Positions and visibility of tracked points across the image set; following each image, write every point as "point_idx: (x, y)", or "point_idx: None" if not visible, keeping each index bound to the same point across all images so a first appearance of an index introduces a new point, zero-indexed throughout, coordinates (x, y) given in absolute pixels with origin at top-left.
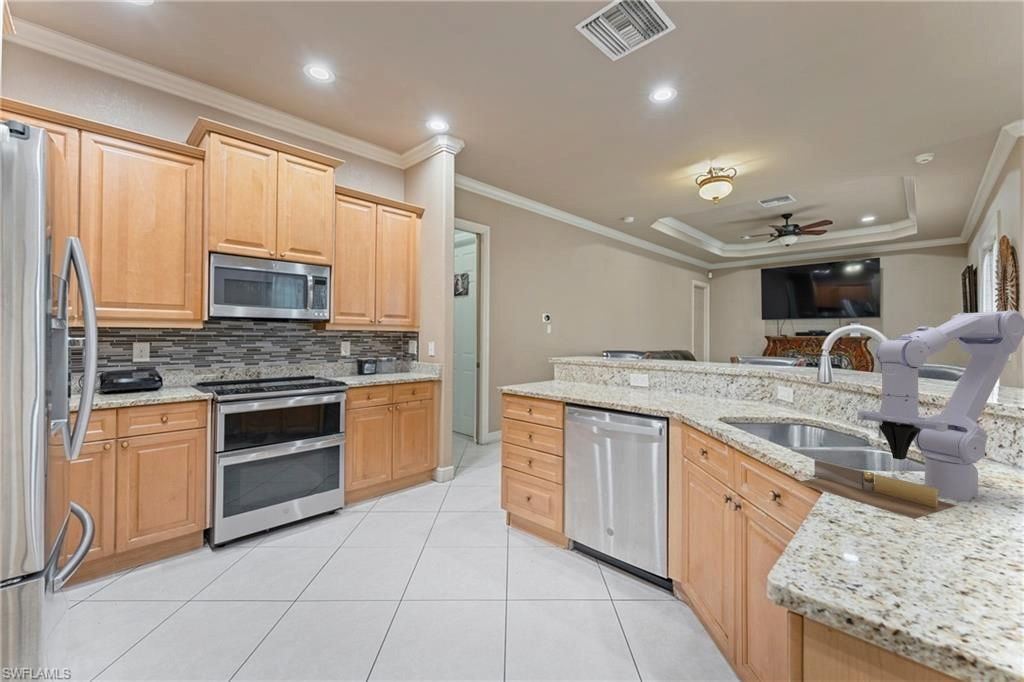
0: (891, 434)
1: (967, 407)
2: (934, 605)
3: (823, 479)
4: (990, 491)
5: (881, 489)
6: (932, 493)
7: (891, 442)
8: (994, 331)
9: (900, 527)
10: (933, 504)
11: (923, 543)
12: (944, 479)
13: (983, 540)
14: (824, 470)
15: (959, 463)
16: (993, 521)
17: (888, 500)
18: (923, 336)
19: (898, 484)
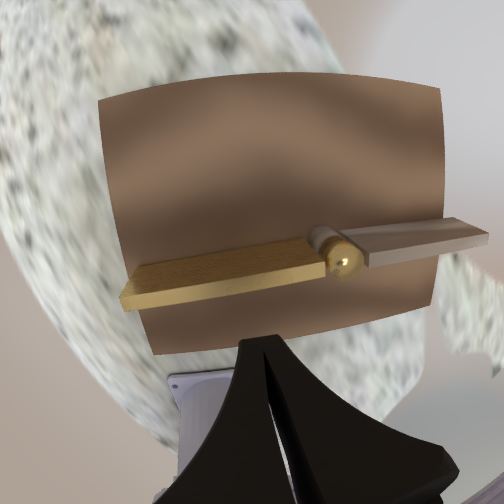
0: (320, 453)
1: None
2: None
3: (431, 208)
4: None
5: (285, 245)
6: (133, 285)
7: (306, 398)
8: None
9: (111, 48)
10: (140, 270)
11: (50, 22)
12: (207, 423)
13: (17, 184)
14: (450, 228)
15: (177, 476)
16: (97, 345)
17: (232, 195)
18: None
19: (236, 269)
